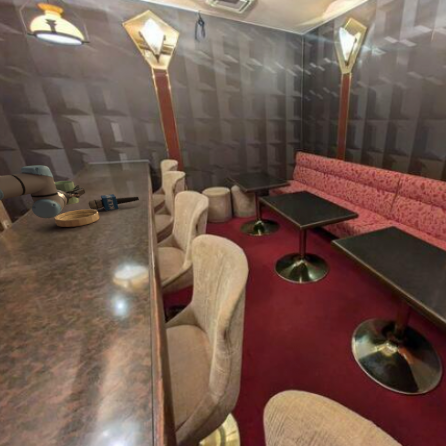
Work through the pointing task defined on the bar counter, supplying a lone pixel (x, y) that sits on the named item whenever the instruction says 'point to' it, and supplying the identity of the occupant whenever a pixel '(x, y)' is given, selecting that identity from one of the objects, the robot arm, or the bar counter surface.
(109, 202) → the microphone
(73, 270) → the bar counter surface
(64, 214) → the bowl
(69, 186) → the tumbler
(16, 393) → the bar counter surface
